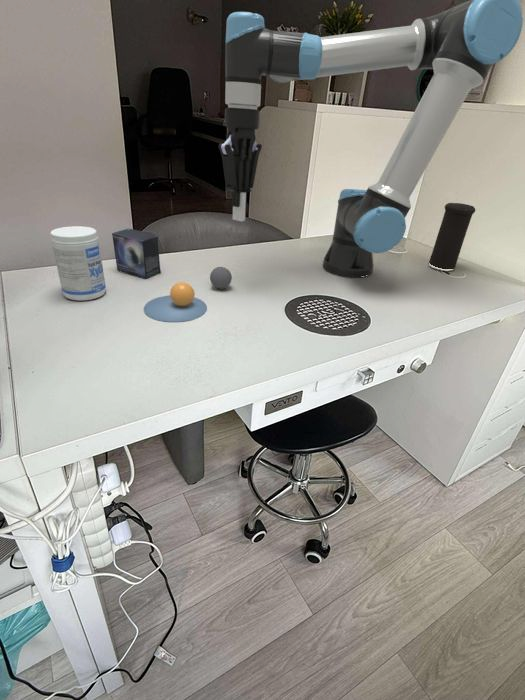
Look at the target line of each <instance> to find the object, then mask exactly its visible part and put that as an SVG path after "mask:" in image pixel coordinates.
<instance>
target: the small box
mask: <svg viewBox="0 0 525 700" xmlns="http://www.w3.org/2000/svg"><path fill="white" fill-rule="evenodd" d="M111 236H112V242H113V249H114V257H115V265H116V270H118V272H120V271H121V272H120V273H124V274H128V275H131V276H134V277H137V278H140V279H143V280H147V279H150V278H153V277H155V276H157V275H160V274H161V273H162V271H161V262H160V251H159V250H160V249H159V235H157V234H153V233H150V232H144V231H141V230H137V229H132V228H126V229H122V230H119V231H115V232H112V233H111Z"/></svg>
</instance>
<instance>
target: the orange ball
mask: <svg viewBox="0 0 525 700" xmlns="http://www.w3.org/2000/svg"><path fill="white" fill-rule="evenodd" d="M195 293H196V292H195V290H194V288H193V286H192V285H191V284H189V283H188V282H185V281H181V282H180V281H179V282H177V283H175V284H173V285H172V287H171V288H170V292H169V295H170V297H171V300H172V301H173V303H175V304H176V305H178V306H182V307H183V306H187V305H189V304H191V303H192V301H193V300H194V297H196V296H195Z"/></svg>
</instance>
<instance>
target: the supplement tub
mask: <svg viewBox="0 0 525 700" xmlns="http://www.w3.org/2000/svg"><path fill="white" fill-rule="evenodd" d="M50 241H51V245H52V249H53V250H52V251H53V255H54V260H55V264H56V268H57V273H58V278H59V283H60V286H61V291H62V295H63V296H64V297H66V298H67V299H68V300H72V301H89V300H90V301H91V300H94V299H98V298H100V297H102V296H103V295H104V294H105V293H106V292H107V286H106V279H105V278H106V277H105V273H104V267H103V262H102V261H103V259H102V255H101V254H102V253H101V247H100V240H99V235H98V232H97V229H96V228H93V227H89V226H80V225H79V226H74V225H72V226H63V227H62V226H61V227H58V228H54V229H52V230H51V231H50Z"/></svg>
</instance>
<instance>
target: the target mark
mask: <svg viewBox="0 0 525 700" xmlns="http://www.w3.org/2000/svg"><path fill="white" fill-rule="evenodd" d="M207 309H208V307H207V304H206V303H205V302H204V300H201V299H199V298H198V297H196V296H194V300H193V301H192V303H191V304H189V305H187V306H183V307H182V306H178V305H176V304H175V303H173V301H172V300H171V297H170V294H169V295H163V296H162V295H161V296H158V297H156V298H155V297H154V298H153V299H151V300H150V301H147V302H146V303H145V305H144V306H143V312H144V314H145V315H146V316H147V317H149V318H150V319H153V320H156V321H159V322H164V323H184V322H190V321H192V320H195V319H198V318H200V317H202V316H203V315H205V313H206V312H207Z"/></svg>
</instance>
